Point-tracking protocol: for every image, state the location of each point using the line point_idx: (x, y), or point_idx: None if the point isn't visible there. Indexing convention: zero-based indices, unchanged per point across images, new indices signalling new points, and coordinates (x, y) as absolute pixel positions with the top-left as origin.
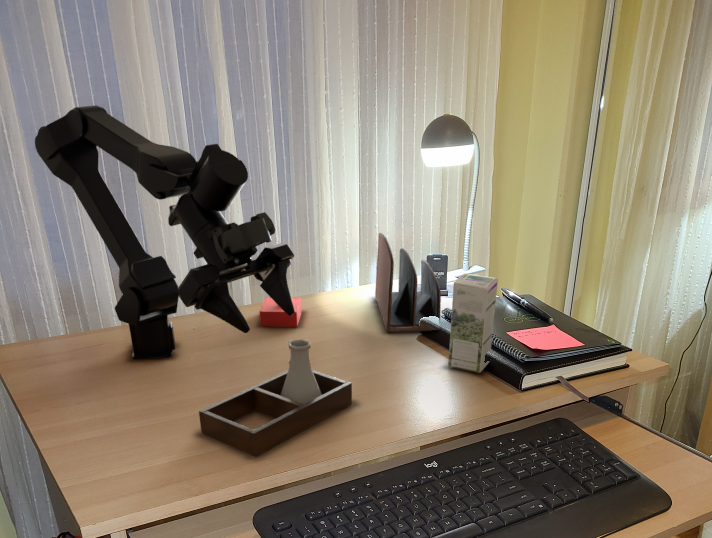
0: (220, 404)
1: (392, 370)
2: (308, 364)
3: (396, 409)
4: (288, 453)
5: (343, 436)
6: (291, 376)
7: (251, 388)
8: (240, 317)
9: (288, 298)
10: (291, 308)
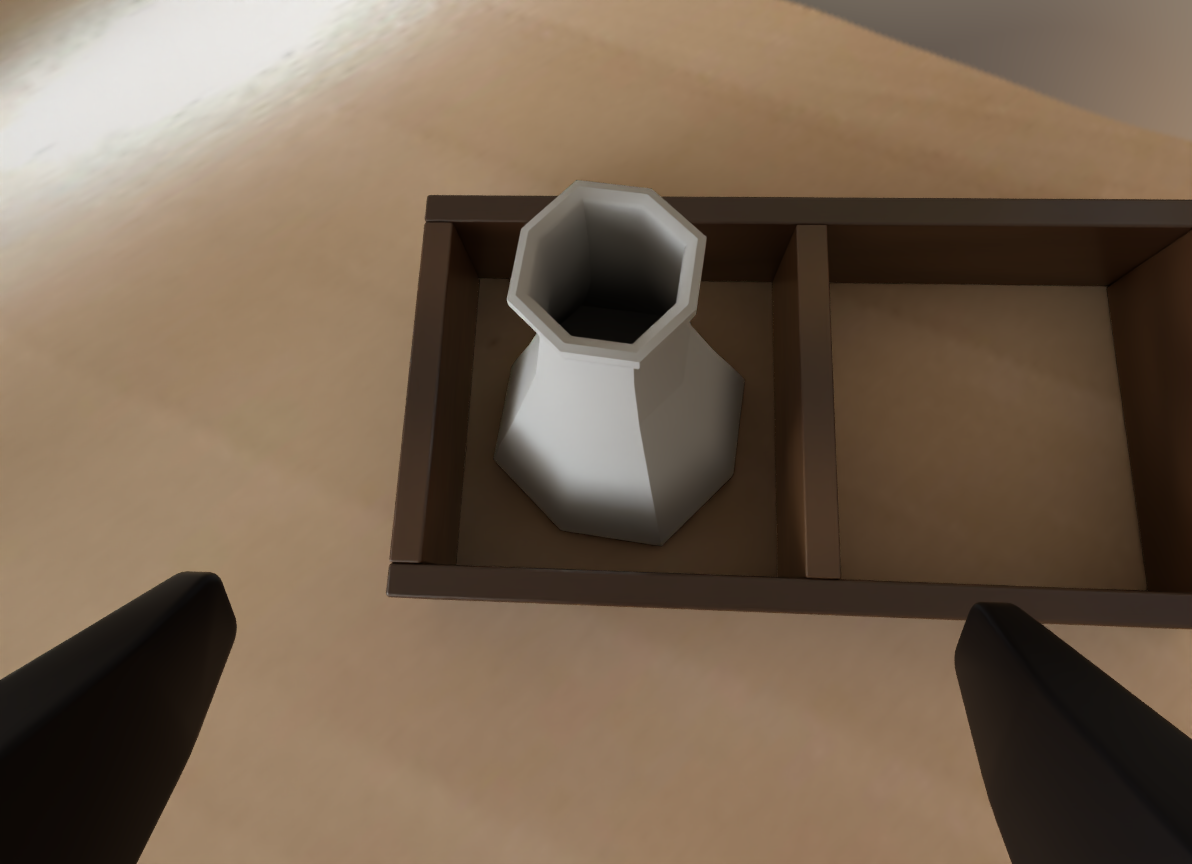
0: (1133, 591)
1: (12, 332)
2: (604, 268)
3: (389, 89)
4: (1000, 184)
5: (731, 109)
6: (693, 371)
7: (845, 594)
8: (1155, 723)
9: (45, 689)
10: (180, 597)
